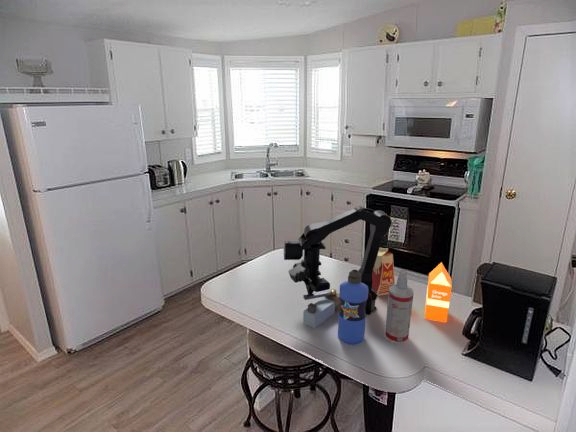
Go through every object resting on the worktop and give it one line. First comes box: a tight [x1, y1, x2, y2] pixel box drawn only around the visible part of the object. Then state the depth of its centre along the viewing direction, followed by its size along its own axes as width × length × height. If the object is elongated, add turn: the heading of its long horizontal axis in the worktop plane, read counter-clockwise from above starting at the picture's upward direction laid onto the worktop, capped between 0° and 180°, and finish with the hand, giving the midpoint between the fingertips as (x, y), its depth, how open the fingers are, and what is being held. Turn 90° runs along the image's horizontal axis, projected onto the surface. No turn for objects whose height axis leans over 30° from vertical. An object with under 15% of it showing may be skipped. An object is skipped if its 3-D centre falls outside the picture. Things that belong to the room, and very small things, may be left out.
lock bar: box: [302, 288, 337, 301], centre depth 142 cm, size 13×2×2 cm, turn 109°
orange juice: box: [424, 261, 453, 323], centre depth 139 cm, size 8×9×20 cm
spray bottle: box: [384, 269, 415, 345], centre depth 125 cm, size 8×8×25 cm
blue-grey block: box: [302, 297, 335, 329], centre depth 139 cm, size 5×13×8 cm, turn 140°
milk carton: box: [372, 247, 396, 297], centre depth 158 cm, size 9×9×20 cm
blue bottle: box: [337, 269, 368, 346], centre depth 125 cm, size 9×9×25 cm
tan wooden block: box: [325, 292, 341, 314], centre depth 145 cm, size 5×4×6 cm
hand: (309, 295), depth 143 cm, fingers closed
